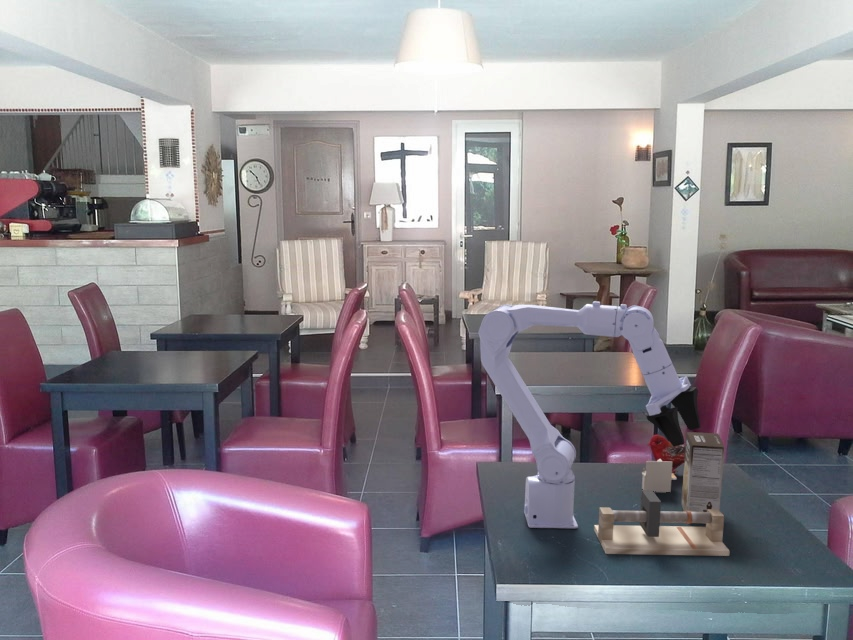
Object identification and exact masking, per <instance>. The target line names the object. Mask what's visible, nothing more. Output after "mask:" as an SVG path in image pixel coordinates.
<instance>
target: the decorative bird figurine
mask: <svg viewBox="0 0 853 640" xmlns="http://www.w3.org/2000/svg"><path fill="white" fill-rule="evenodd" d="M647 446H649V447H650V450H651V453H652V456H653V459H654V461H657V460H659V459H661V460H662V461H667V462H672V473H673V474H676V473H678V472H679V471H678V470H676V469H678V468H679V467H680V466H681V465H684V459H685V445H684V444H683V445H679V446H673V445H672V444H671V443H670V442H669V440H668V439H667V438H666V437H664V436H663V435H660V434H654V435H652V437H651V438H650V441H649V442H648V444H647Z"/></svg>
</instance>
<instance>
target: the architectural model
mask: <svg viewBox="0 0 853 640" xmlns="http://www.w3.org/2000/svg"><path fill="white" fill-rule="evenodd" d="M641 475H642V479H641V480H642V482H641V489H643V490H652V491H654V493H666V492H670V493H671V489H672V480H674V481H675V480H677V476H676V475H675V473H672V462H667V461H662V460H661V459H659V460H657V461H656V460H646V466H645V467H643V471H641ZM655 491H656V492H655Z"/></svg>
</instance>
